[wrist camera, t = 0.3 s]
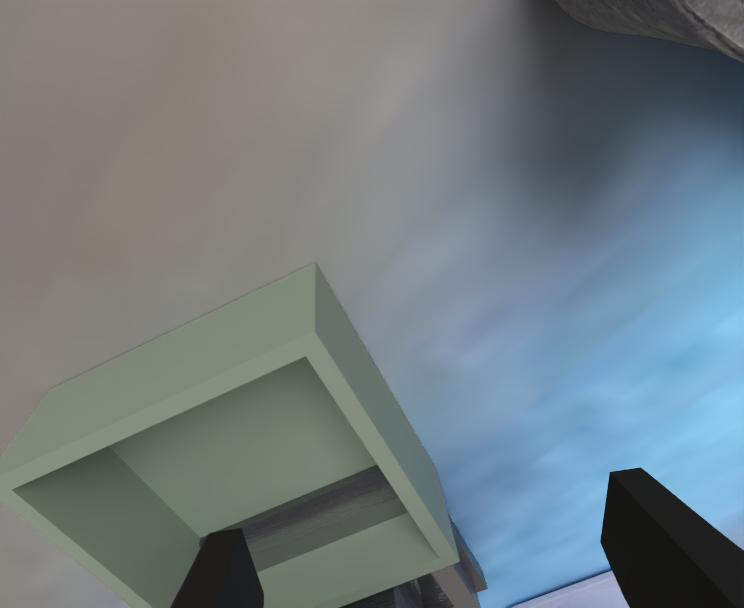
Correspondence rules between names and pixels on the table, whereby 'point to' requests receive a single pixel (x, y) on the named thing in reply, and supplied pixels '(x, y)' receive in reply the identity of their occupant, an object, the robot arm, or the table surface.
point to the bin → (228, 452)
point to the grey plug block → (393, 597)
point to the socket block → (349, 516)
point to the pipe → (668, 21)
